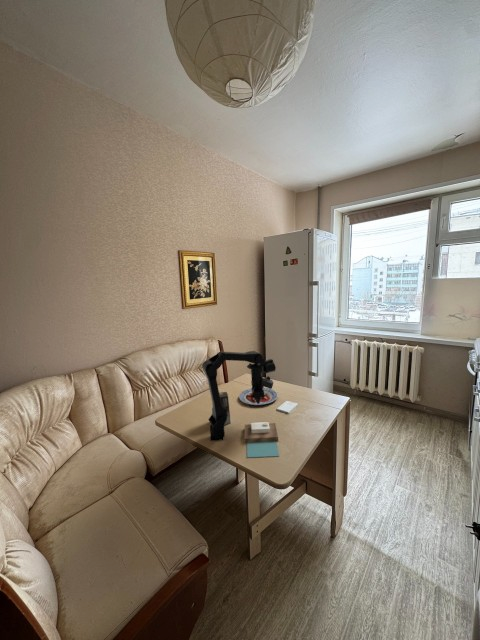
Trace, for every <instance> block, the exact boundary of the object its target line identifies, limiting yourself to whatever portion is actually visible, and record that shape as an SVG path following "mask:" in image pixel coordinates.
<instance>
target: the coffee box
mask: <svg viewBox="0 0 480 640" xmlns="http://www.w3.org/2000/svg"><path fill="white" fill-rule="evenodd" d="M219 395H220V400H221V404H223V405H224V406H225V408H226V409H227V415H228V416H227V420H226V422H225V424H224V425H227V424H231V423H232V422H231V414H230V413H231V412H230V403H229V394H228V392H227V391H222V392H219ZM211 405H212V406H213V403H212V402H211Z"/></svg>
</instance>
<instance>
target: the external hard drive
mask: <svg viewBox="0 0 480 640" xmlns="http://www.w3.org/2000/svg"><path fill="white" fill-rule="evenodd" d="M298 406H299V403H297V402H293V401H289V400H286V401H284V403H282V404H281V405H280V406H278V407H277V408H276V411H278V412H282V413H284V414H288V415H289V414H291V412H293V410H295V409H296V408H297V407H298Z"/></svg>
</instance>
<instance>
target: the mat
mask: <svg viewBox="0 0 480 640" xmlns="http://www.w3.org/2000/svg"><path fill="white" fill-rule="evenodd" d="M277 442H278V441H273V442H252V443H246V457H247V458H248V459H249V458H251V459H253V458H274V457H280V452H279V448H278V444H277Z"/></svg>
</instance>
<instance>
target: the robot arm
mask: <svg viewBox="0 0 480 640" xmlns="http://www.w3.org/2000/svg"><path fill="white" fill-rule="evenodd" d="M263 357H264V356H263V354H261V353H259V352H257V351H256V350H249V351H246V352H236V351H235V352H234V351H223V350H220V351H219V352H217V353H216V354H215V355H213V356H212V357H210V358H208V359H207V360H204V362H202V364H201V368H202V371H203V372H204V375H205V377H206V379H207V384H208V388H209V392H210V393H209V394H210V397H211V404H212V403H213V405H212V409H211V415H210V416H209V418H208V422H209V423H210V425H209V431H210V442H211V441H224V439H225V435H226V432H225V425H226V424H225V422H226V420H227V416H228V415H227V409H226V408H225V406H224V405H223V404H221V400H220V395H219V393H220V391H219V387H218V381H217V378H218V377H217V376H218V370H219V368H221V367H222V365H223V364H224V362H225V361H238V362H240V361H241V362H248V363H249V364H248V365H246V368H248V369H249V370H250V375H251V376H250V377H251V381H250V382H251V383H250V384H251V385H250V386H251V388H252V398H255V400H256V402H257V404H259V403H260V398H261V397H265V395H264V390H263V388H269V389H272V390H273V386H274V381H273V379H271V377H270V376H268V375H267V376H266V377H263V374H269V373H273V372H275V371H277V370H276V368H277V367H276V364H275V363H274V359H272V358H271V359H270V358H269V359H267V360H265V359H264V358H263Z"/></svg>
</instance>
